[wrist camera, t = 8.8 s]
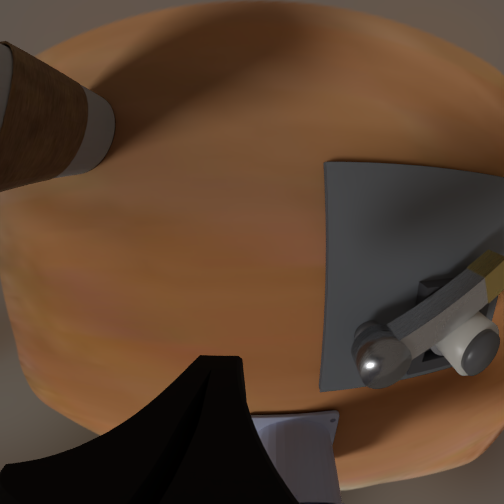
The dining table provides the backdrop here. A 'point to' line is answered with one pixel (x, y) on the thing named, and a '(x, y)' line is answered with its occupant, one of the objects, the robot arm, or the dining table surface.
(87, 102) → the coffee cup
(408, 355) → the clip
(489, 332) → the plug
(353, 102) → the dining table surface
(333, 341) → the panel
